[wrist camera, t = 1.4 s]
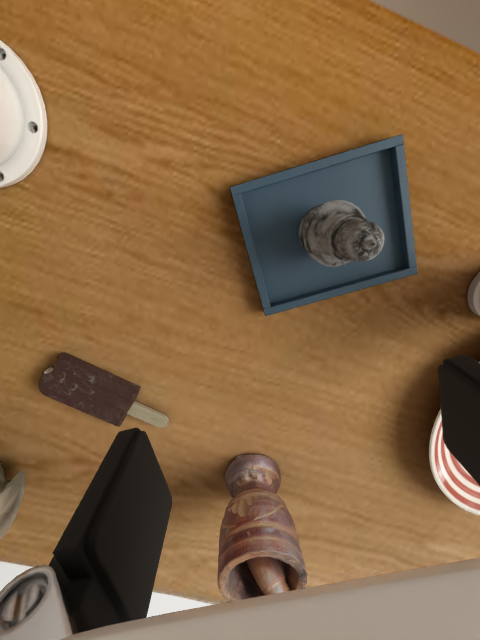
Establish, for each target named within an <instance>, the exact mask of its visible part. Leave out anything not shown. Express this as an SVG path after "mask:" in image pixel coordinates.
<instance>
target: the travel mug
mask: <svg viewBox="0 0 480 640" xmlns="http://www.w3.org/2000/svg"><path fill="white" fill-rule="evenodd" d="M467 300H468V305H469V307H470V309H471V310H472V311H473V313H475V314H476V315H478V316H480V272H479V273H478V274H477V275H476V276H475V277H474V279H473V280H472V282H471V284H470V286H469V289H468V293H467Z"/></svg>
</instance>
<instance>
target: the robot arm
mask: <svg viewBox="0 0 480 640" xmlns="http://www.w3.org/2000/svg"><path fill="white" fill-rule="evenodd" d="M5 56H6V58H5ZM36 127H38V130H37V131H36ZM46 139H47V116H46V110H45V104H44V101H43V98H42V95H41V92H40V89H39V87H38V85H37V83H36V82H35V80H34V78H33V76H32V74H31V72H30V71H29V70H28V68H27V67H26V65H25V64H24V63H23V61H22V60H21V59H20V58H19V57H18V56H17V55H16V54H15V53H14V52H13V51H12V49H11V48H10V47H8V46H7V45H6V44H4V43H3V42H2V41H0V188H3V187H7V186H11V185H14V184H15V183H17V182H19V181H21V180H23V179H24V178H25V177H26V176H28V175H29V174H30V173H31V172H32V171H33V170H34V168H35V167H36V165H37V164H38V163H39V161H40V159H41V156H42V154H43V152H44V149H45V144H46ZM3 175H4V178H3ZM438 375H439V389H440V403H441V418H442V432H443V440H444V443H445V445H446V447H447V449H448V450H449V451H450V453H451V454H452V455H453V456H454V457H455V458H456V459H457V460H458V462H459V463H460V464H461V465H462V466H463V467H464V468H465V470H466V471H467V472H468V473H469V474H470V475H471V476H472V478H473V479H474V480H475V481H476V482H477V483H478V484H479V485H480V363H479V362H477V361H475V360H474V359H472V358H471V357H469V356H467V355H462V356H458V357H453V358H449V359H445V360H444V361H443V365H440V366H439V368H438ZM171 507H172V497H171V493H170V490H169V488H168V485H167V483H166V480H165V478H164V476H163V473H162V471H161V468H160V466H159V463H158V461H157V458H156V456H155V453H154V451H153V449H152V446H151V444H150V441H149V439H148V436H147V434H146V432H145V431H140V429H139V428H133V429H128V430H124V431H120V432H119V433H118V434H117V436H116V438H115V440H114V441H113V443H112V445H111V447H110V449H109V451H108V452H107V454H106V456H105V458H104V460H103V462H102V463H101V465H100V467H99V469H98V471H97V473H96V474H95V476H94V478H93V480H92V482H91V484H90V485H89V487H88V489H87V491H86V493H85V495H84V496H83V498H82V500H81V502H80V504H79V506H78V507H77V509H76V511H75V513H74V515H73V517H72V518H71V520H70V522H69V524H68V526H67V528H66V530H65V531H64V533H63V535H62V537H61V539H60V541H59V542H58V544H57V546H56V548H55V550H54V552H53V554H54V557H53V559H52V560H51V562H50V564H49V566H47V565H41V566H36V567H33V568H31V569H28V570H26V571H25V572H23V573H22V574H20V575H18V576H17V577H15V578H14V579H13V580H12V581H11V582H10V583H8V584H7V585H6V586H5V587H4V588H3V589H2V590H1V591H0V640H480V558H477V559H471V560H465V561H459V562H453V563H447V564H441V565H436V566H430V567H424V568H418V569H412V570H406V571H400V572H395V573H389V574H383V575H378V576H372V577H366V578H361V579H355V580H349V581H344V582H338V583H332V584H327V585H321V586H315V587H310V588H304V589H298V590H293V591H287V592H282V593H276V594H270V595H265V596H260V597H254V598H249V599H243V600H238V601H232V602H227V603H221V604H216V605H210V606H205V607H200V608H194V609H189V610H183V611H178V612H173V613H167V614H162V615H158V616H152V617H148V618H146V616H147V612H148V608H149V603H150V599H151V595H152V590H153V586H154V581H155V577H156V573H157V568H158V564H159V560H160V555H161V551H162V546H163V542H164V538H165V533H166V529H167V524H168V520H169V516H170V511H171Z"/></svg>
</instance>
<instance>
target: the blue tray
mask: <svg viewBox="0 0 480 640" xmlns="http://www.w3.org/2000/svg"><path fill="white" fill-rule="evenodd" d="M403 143H404V142H403V134H401V135H398V136H395V137H392V138H388V139H385V140H382V141H379V142H375V143H372V144H369V145H366V146H362V147H359V148H356V149H353V150H349V151H346V152H343V153H340V154H336V155H333V156H330V157H327V158H323V159H320V160H317V161H314V162H310V163H307V164H304V165H301V166H297V167H294V168H291V169H288V170H284V171H281V172H278V173H275V174H271V175H268V176H265V177H262V178H258V179H255V180H252V181H249V182H245V183H242V184H239V185H235V186H232V187H230V190H231V194H232V198H233V201H234V205H235V209H236V212H237V216H238V220H239V223H240V227H241V230H242V234H243V238H244V241H245V245H246V249H247V252H248V256H249V259H250V263H251V267H252V270H253V274H254V278H255V281H256V285H257V289H258V292H259V296H260V299H261V303H262V307H263V310H264V314H265V316H267V315H271V314H274V313H278V312H282V311H285V310H289V309H292V308H296V307H300V306H303V305H307V304H310V303H314V302H317V301H321V300H325V299H328V298H332V297H335V296H339V295H343V294H346V293H350V292H353V291H357V290H361V289H364V288H368V287H371V286H375V285H378V284H382V283H386V282H389V281H393V280H396V279H400V278H404V277H407V276H411V275H414V274H417V265H416V255H415V246H414V237H413V227H412V218H411V209H410V199H409V190H408V181H407V171H406V162H405V152H404V144H403ZM333 200H345V201H348V202H351V203H353V204H354V205H356V206H357V207H359V208H360V210H361V211H362V212H363V213H364V215H365V218H366V219H367V220H368V221H371V222H374V223H376V224H377V225H378V226H380V228H381V229H382V231H383V233H384V245H383V247H382V250H381V251H380V252H379V254H378V255H377V256H376V257H374V258H373V259H371V260H368V261H364V262H358V261H355V260H353V261H351V262H349V263H347V264H345V265H342V266H337V267H328V266H324V265H321V264H319V263H318V262H316V261H314V260H313V259H312V258H311V257H310V255H309V254H308V253H307V251H306V250H305V249H304V248H303V246H302V244H301V242H300V238H299V228H300V225H301V222H302V220H303V218H304V217H305V215H306V214H307V213H308V212H309V211H310V210H311V209H313V208H315V207H316V206H319V205H322V204H324V203H326V202H330V201H333Z"/></svg>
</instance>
